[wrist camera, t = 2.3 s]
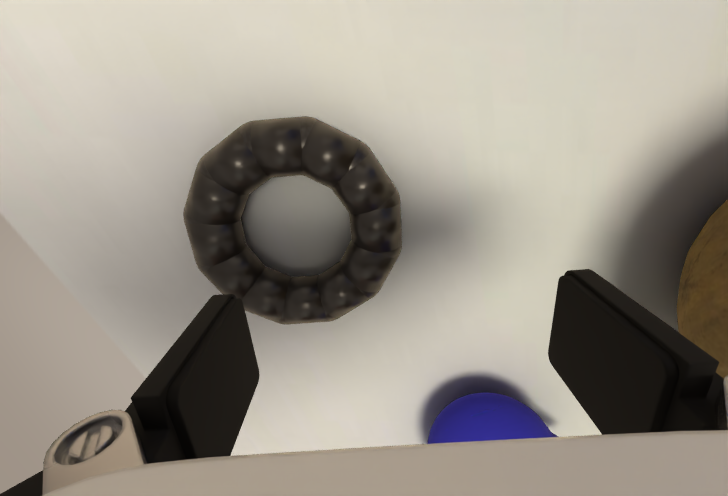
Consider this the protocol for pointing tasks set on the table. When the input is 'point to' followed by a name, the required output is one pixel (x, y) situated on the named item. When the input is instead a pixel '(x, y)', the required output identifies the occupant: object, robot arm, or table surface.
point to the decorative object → (486, 420)
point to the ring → (289, 158)
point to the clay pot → (707, 290)
